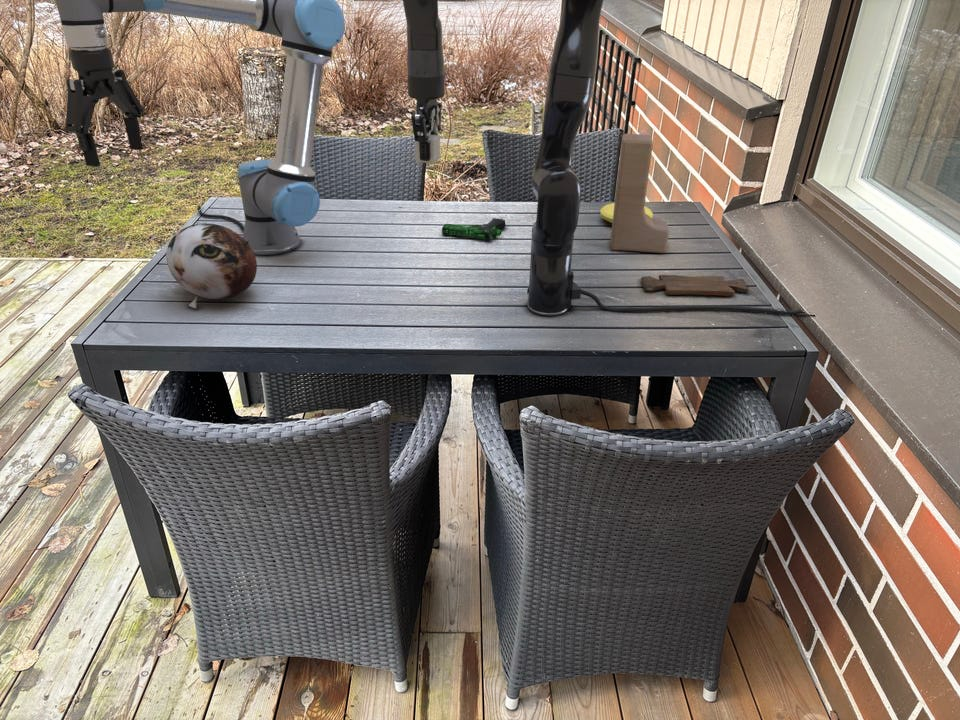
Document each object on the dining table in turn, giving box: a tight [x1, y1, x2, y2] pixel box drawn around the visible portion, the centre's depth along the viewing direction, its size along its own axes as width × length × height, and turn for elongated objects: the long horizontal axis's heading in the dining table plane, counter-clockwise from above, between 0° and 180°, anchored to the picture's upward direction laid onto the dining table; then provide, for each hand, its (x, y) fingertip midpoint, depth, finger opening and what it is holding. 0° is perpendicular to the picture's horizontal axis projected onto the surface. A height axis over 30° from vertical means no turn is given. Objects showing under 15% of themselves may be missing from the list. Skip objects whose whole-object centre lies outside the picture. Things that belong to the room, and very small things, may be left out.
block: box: [414, 133, 441, 164], centre depth 152 cm, size 4×4×5 cm
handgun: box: [441, 217, 506, 242], centre depth 207 cm, size 16×3×15 cm
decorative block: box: [610, 133, 670, 254], centre depth 191 cm, size 8×15×30 cm, turn 82°
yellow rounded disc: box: [599, 202, 654, 224], centre depth 215 cm, size 16×16×7 cm
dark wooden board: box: [640, 274, 748, 297], centre depth 176 cm, size 26×2×10 cm
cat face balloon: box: [165, 222, 258, 309], centre depth 165 cm, size 22×18×20 cm
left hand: (116, 157), depth 150 cm, fingers open, 13 cm apart
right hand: (428, 157), depth 153 cm, fingers closed on block, 4 cm apart
